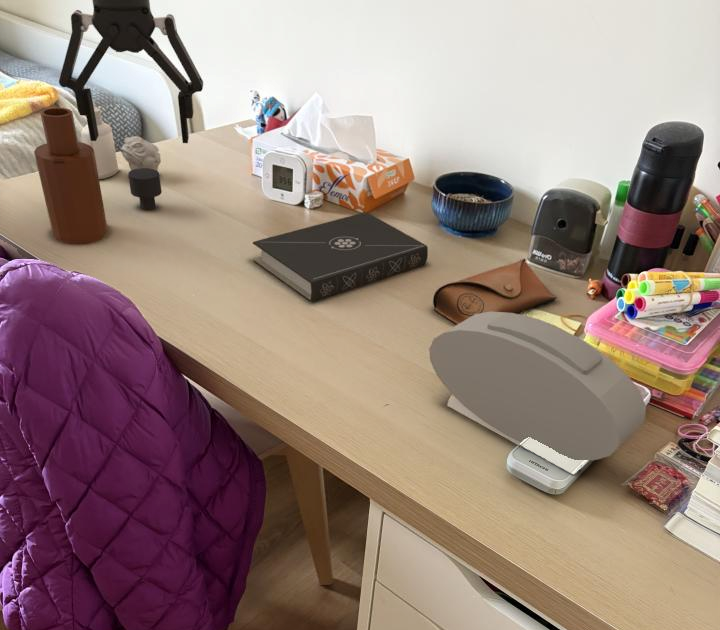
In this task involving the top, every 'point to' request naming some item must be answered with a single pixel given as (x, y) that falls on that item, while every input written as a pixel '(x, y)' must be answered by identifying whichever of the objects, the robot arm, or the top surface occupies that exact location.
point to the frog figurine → (140, 153)
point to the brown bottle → (70, 181)
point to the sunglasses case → (492, 293)
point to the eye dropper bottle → (102, 147)
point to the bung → (145, 186)
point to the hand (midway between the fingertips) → (140, 139)
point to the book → (339, 255)
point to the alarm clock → (537, 384)
